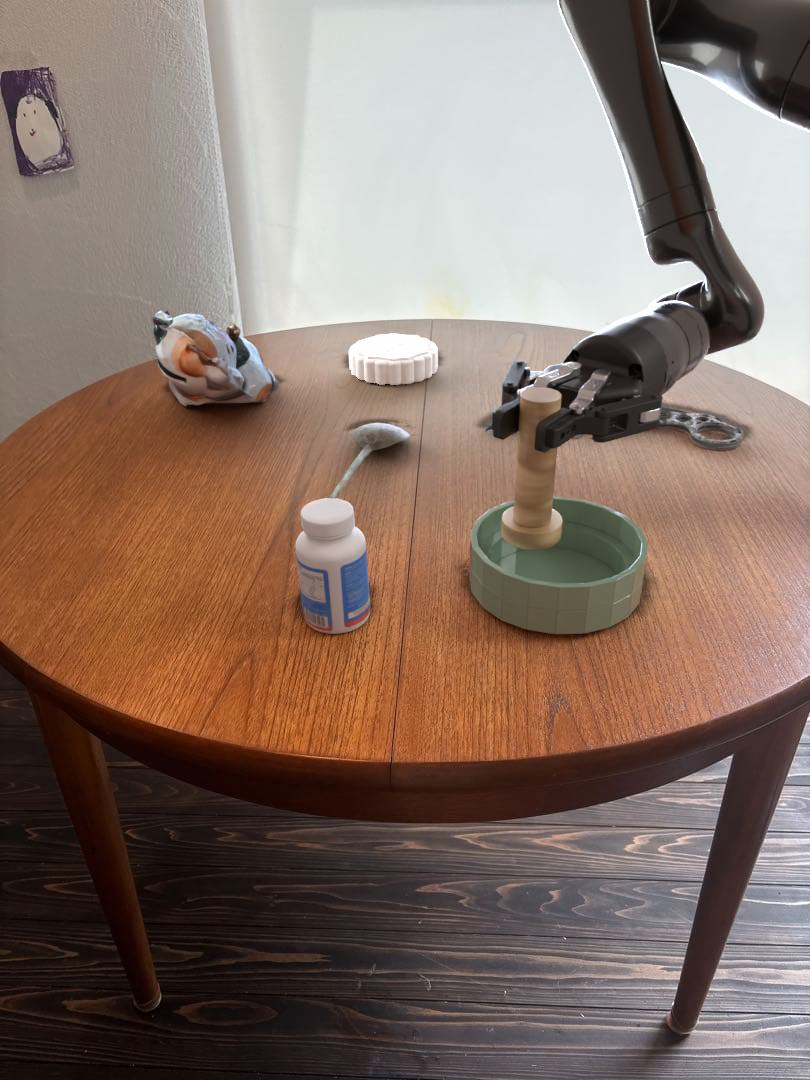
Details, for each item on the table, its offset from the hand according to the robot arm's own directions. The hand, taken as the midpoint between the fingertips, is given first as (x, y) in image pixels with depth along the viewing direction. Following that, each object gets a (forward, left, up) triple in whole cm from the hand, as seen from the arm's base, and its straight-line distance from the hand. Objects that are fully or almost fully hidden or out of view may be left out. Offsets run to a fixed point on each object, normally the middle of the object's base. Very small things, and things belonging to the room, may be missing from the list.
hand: (518, 432), depth 63 cm
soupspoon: (+13, -24, -15) cm, 31 cm away
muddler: (-2, -2, -10) cm, 10 cm away
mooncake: (+9, -55, -15) cm, 58 cm away
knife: (-16, -34, -15) cm, 41 cm away
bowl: (-4, -2, -15) cm, 16 cm away
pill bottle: (+14, +1, -15) cm, 21 cm away
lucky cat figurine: (+31, -46, -15) cm, 58 cm away
